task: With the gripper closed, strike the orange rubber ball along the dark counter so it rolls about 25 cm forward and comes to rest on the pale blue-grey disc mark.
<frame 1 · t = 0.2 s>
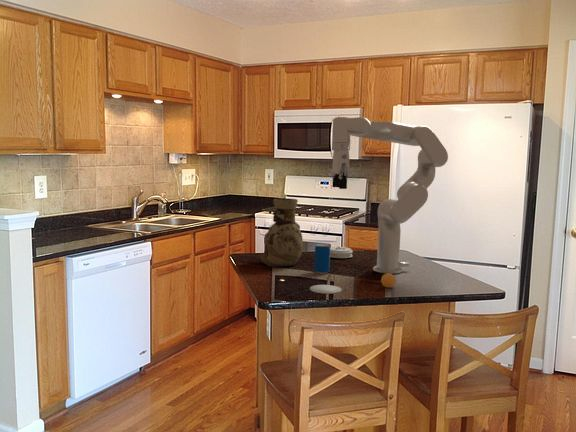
hand: (339, 187, 217), 36 cm above the counter, tool pointing down, fingers open, 9 cm apart
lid: (339, 257, 256), on the counter
ceramic vessel: (281, 264, 235), on the counter
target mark: (325, 289, 193), on the counter
ball: (388, 280, 198), on the counter
beverage can: (321, 272, 221), on the counter
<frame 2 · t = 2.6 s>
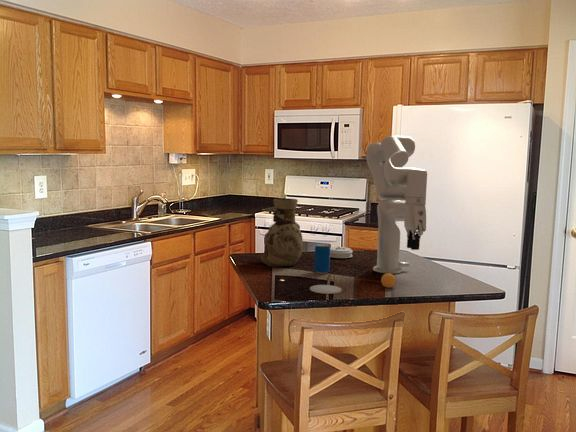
hand: (413, 248, 199), 15 cm above the counter, tool pointing down, fingers closed
nothing on the counter moved.
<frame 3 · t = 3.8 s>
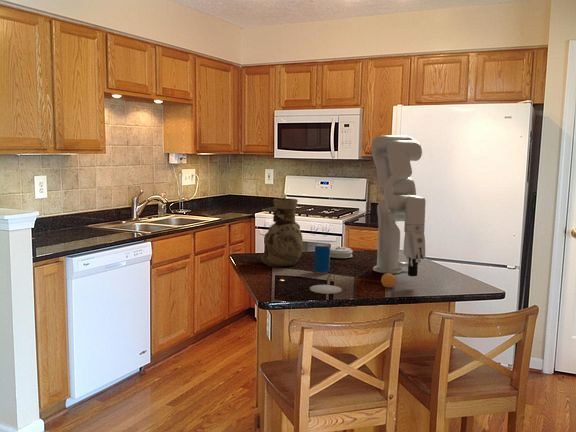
hand: (412, 275, 199), 5 cm above the counter, tool pointing down, fingers closed
nothing on the counter moved.
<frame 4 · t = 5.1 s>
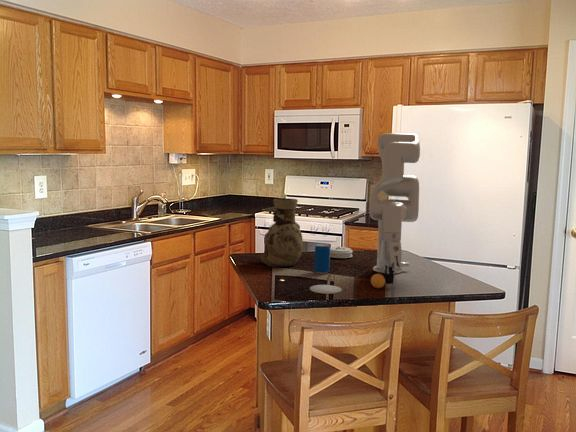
hand: (388, 283, 198), 2 cm above the counter, tool pointing down, fingers closed
ball: (378, 280, 197), on the counter
everything else where it was.
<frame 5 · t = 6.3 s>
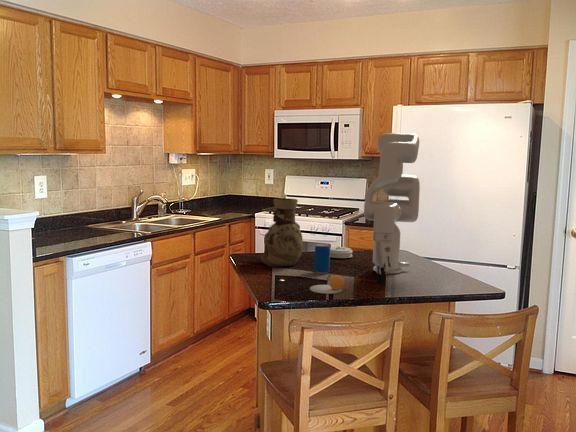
hand: (380, 283, 198), 2 cm above the counter, tool pointing down, fingers closed
ball: (336, 282, 193), on the counter
everything else where it was.
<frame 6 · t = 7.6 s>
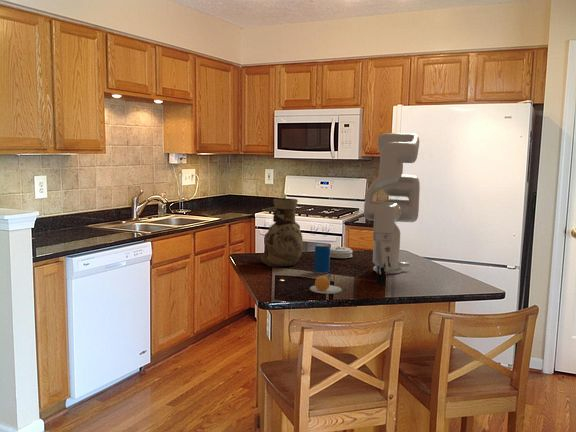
hand: (380, 283, 198), 2 cm above the counter, tool pointing down, fingers closed
ball: (322, 283, 191), on the counter
everything else where it was.
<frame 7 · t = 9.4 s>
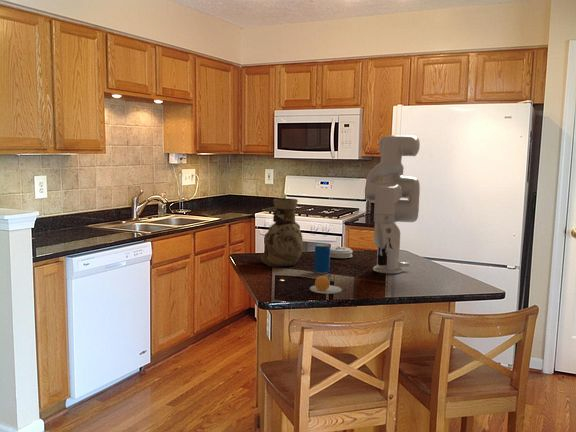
hand: (382, 264, 198), 9 cm above the counter, tool pointing down, fingers closed
nothing on the counter moved.
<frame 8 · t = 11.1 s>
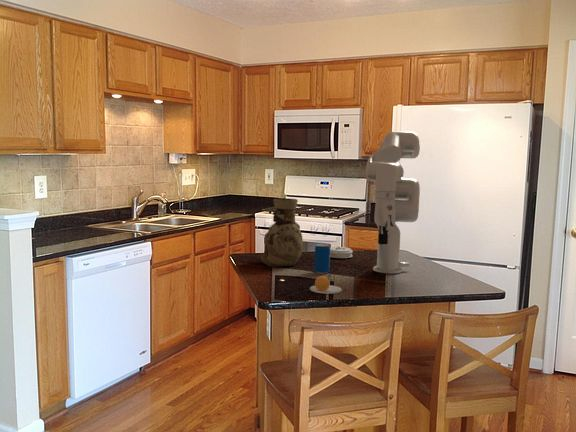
hand: (382, 243, 196), 17 cm above the counter, tool pointing down, fingers closed
nothing on the counter moved.
at the end: ball 2.5 cm from the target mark (horizontally); ball at rest at the end (0.0 cm/s); ball moved 26.9 cm from its start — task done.
